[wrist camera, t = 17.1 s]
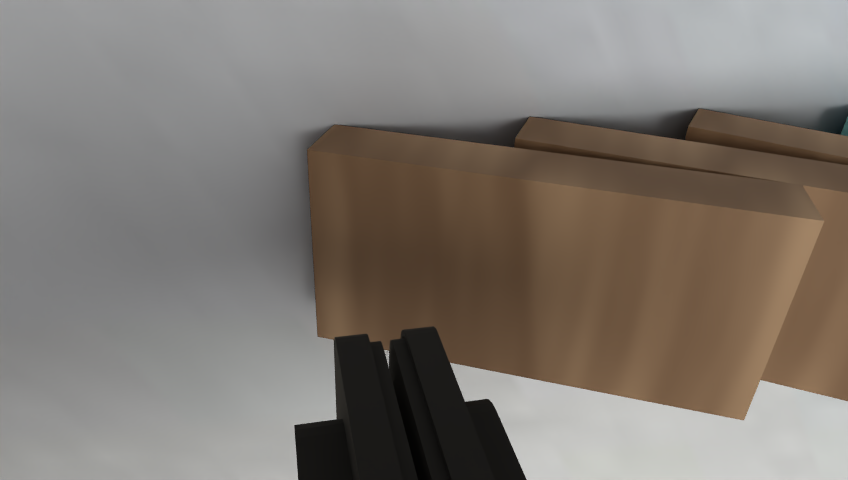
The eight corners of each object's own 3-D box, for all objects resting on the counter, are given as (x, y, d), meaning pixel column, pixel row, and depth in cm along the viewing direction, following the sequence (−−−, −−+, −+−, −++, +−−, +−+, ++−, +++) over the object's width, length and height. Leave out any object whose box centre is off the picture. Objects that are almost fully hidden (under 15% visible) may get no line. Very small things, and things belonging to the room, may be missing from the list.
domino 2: (494, 314, 17) (928, 420, 14) (515, 138, 15) (1046, 225, 12) (508, 283, 18) (908, 374, 16) (529, 116, 16) (1010, 190, 13)
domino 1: (317, 336, 16) (743, 420, 14) (307, 150, 14) (823, 221, 12) (340, 300, 17) (732, 372, 16) (334, 124, 15) (802, 184, 13)
